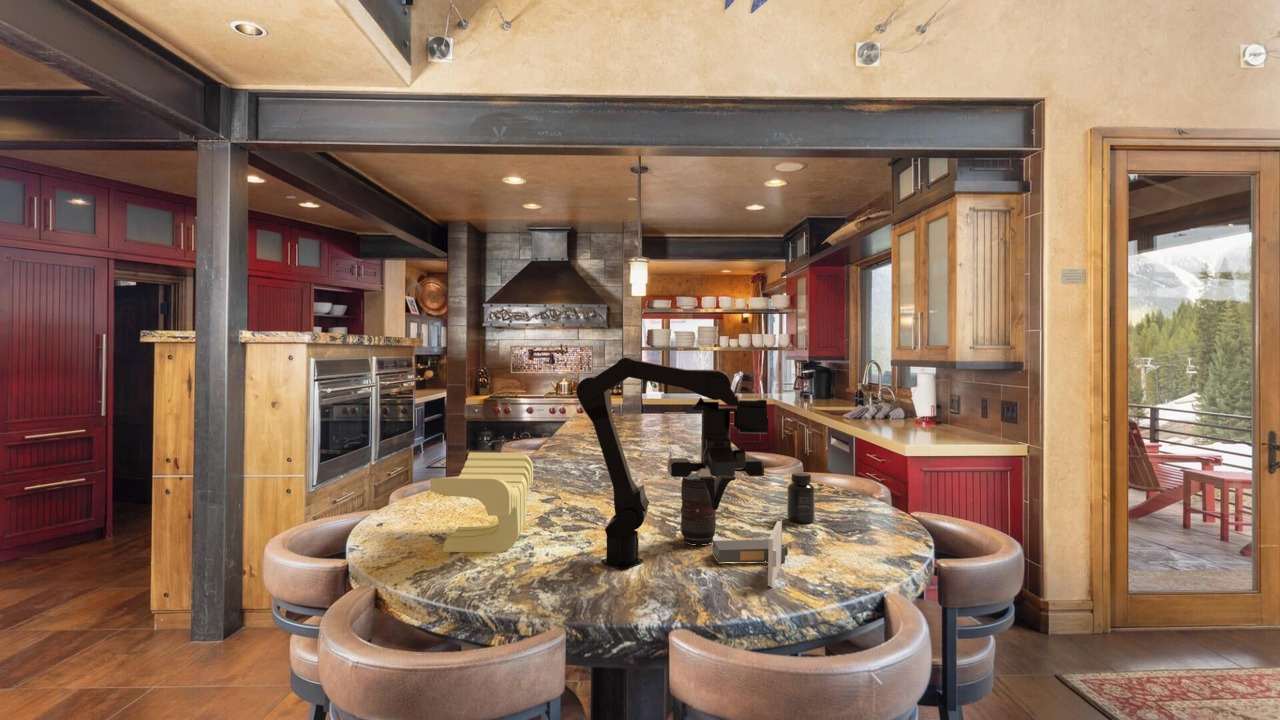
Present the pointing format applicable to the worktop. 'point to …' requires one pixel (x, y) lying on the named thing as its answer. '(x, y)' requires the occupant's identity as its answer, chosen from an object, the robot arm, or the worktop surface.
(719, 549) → the grey rectangular box
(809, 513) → the supplement bottle
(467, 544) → the slatted curved stool
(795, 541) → the worktop surface
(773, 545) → the side door
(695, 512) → the camera lens
